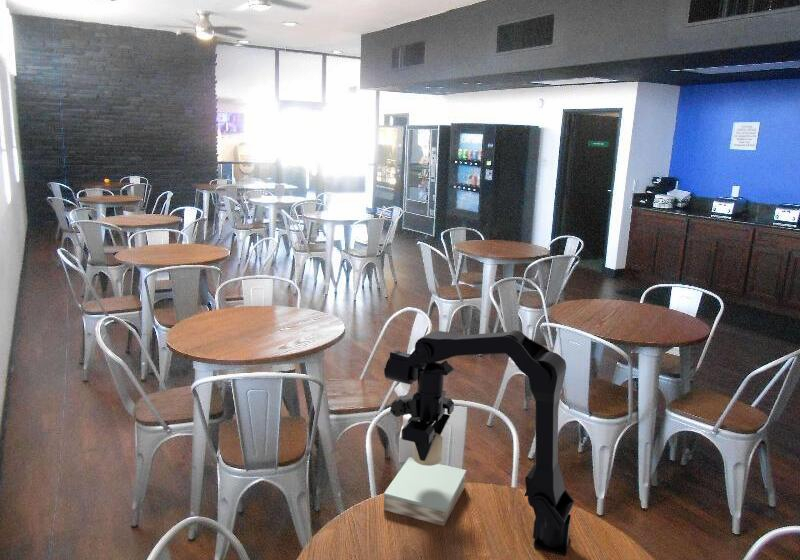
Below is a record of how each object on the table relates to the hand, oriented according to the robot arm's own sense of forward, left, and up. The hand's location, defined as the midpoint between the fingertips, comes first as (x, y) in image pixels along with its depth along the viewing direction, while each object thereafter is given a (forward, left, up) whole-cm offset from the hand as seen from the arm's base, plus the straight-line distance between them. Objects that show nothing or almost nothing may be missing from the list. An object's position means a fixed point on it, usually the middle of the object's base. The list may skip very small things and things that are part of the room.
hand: (427, 453), depth 133 cm
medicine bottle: (+9, -16, -12) cm, 22 cm away
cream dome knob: (0, 0, -1) cm, 1 cm away
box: (0, 0, -11) cm, 11 cm away
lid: (0, 0, -8) cm, 8 cm away
